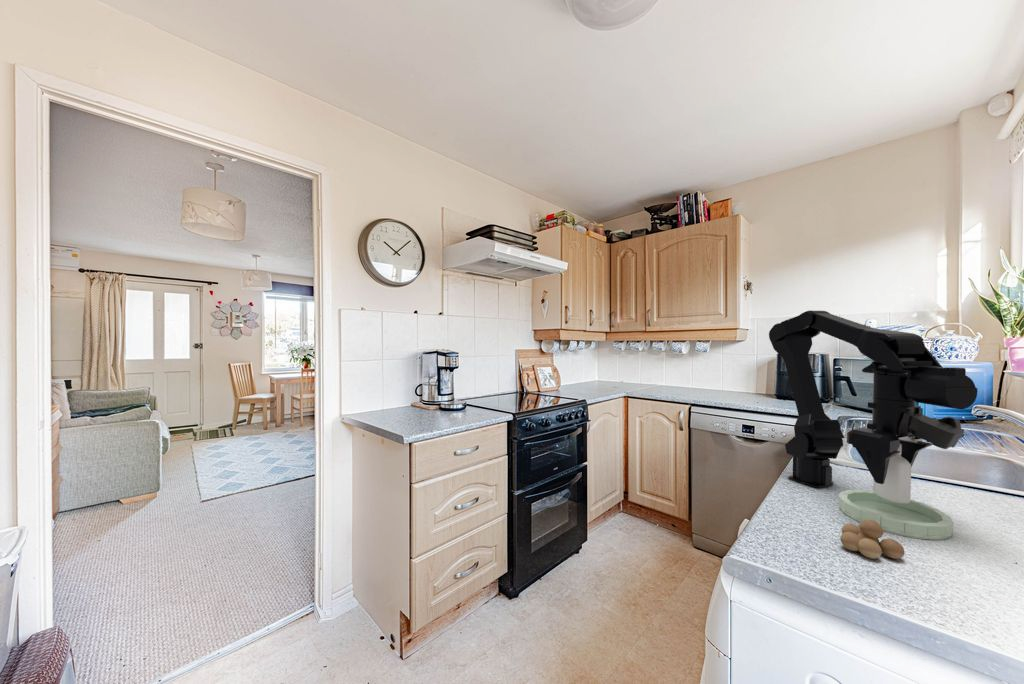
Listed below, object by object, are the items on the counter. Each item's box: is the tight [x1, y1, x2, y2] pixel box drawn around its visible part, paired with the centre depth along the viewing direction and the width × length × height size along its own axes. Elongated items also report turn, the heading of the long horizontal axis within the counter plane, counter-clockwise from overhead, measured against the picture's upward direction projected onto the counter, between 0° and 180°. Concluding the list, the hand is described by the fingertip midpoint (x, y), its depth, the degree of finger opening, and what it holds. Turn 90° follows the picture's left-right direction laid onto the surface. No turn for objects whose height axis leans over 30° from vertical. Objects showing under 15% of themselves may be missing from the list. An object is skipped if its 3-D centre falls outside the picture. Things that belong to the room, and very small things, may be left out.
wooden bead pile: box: [839, 520, 905, 560], centre depth 61 cm, size 8×6×5 cm
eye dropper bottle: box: [872, 444, 912, 504], centre depth 71 cm, size 4×6×12 cm
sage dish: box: [838, 489, 954, 541], centre depth 71 cm, size 15×15×2 cm
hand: (891, 480), depth 72 cm, fingers closed on eye dropper bottle, 8 cm apart
